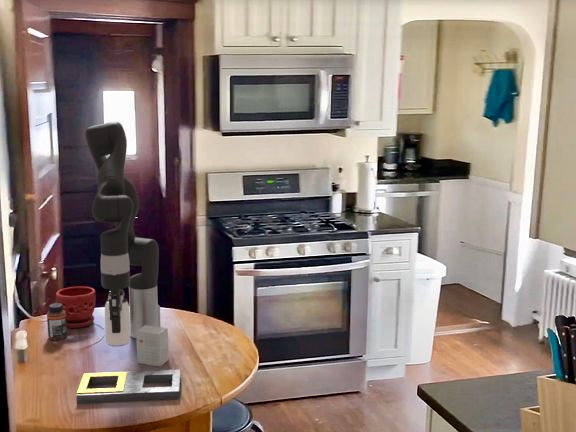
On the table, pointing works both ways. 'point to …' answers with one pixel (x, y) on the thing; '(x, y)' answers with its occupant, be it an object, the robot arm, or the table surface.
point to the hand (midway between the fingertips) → (117, 327)
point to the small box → (152, 345)
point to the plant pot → (77, 305)
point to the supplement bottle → (56, 322)
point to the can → (124, 334)
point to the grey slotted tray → (128, 386)
